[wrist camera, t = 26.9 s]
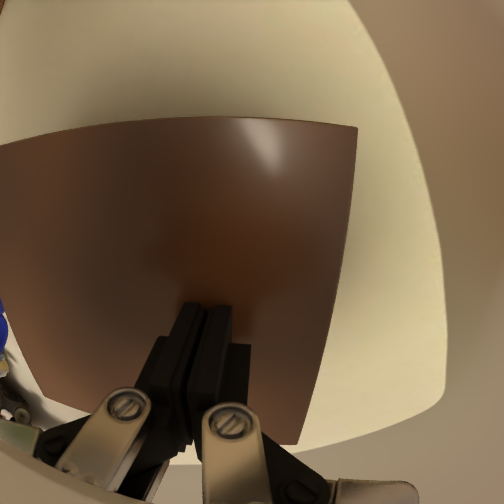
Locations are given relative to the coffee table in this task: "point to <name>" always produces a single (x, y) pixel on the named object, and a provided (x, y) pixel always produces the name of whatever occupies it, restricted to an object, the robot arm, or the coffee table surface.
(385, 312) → the coffee table surface
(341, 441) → the coffee table surface
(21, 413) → the binoculars
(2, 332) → the mug
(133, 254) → the chest lid
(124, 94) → the coffee table surface
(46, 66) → the coffee table surface
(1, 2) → the coaster
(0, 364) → the dinosaur figurine
